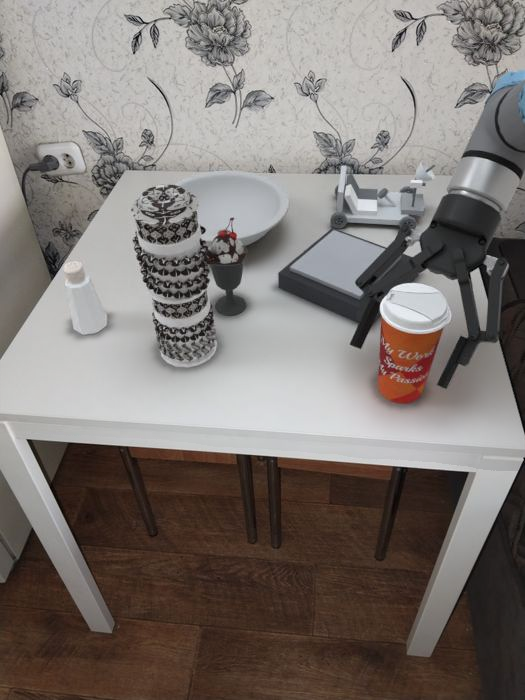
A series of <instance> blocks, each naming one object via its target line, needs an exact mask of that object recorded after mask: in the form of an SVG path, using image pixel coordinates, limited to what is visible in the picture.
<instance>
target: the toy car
mask: <svg viewBox="0 0 525 700" xmlns="http://www.w3.org/2000/svg"><path fill="white" fill-rule="evenodd" d="M347 166H348V165H341V167H340V173H339V180H338V184H337V185H336V186H335V188H334V195H335V196H336V198H337V199H336V212H334V213H333V214H331V216H330V225H331V226H332V228H334V229H337V230H339V229H344V228H345V227H346V225H347V224H348V223H352V224H353V223H354V224H355V223H356V224H371V225H388V226H389V225H392V226H399V227H398V228H399V229H400V228H401V226H402V225H405V224H406V225H408V226H409V227H410V228H411V229H414V230H416V228H417V219H415V217H413V216H421V217H424V214H425V204H424V203H425V202H424V194H423V193H417V189H422V188H423V187H426V185H427V183H426V182H430V181H434V180H435V179H436V176H435V174H434V172H433V170H432V169H434V168H435V167H436V164H432V165H431V166H429V165H428V163H426V162H425V161H423V160H422V161H420V163H419V164H418V166H417V168H416V171H415V174H414V175H415V176H414V179H410V183H409V186H408V185H407V186H406V185H405V186H403V187H402V188H400V190H399V191H397V192H396V191H389V189H387V188H386V187H383V188H382V189H381V190H379V189H378V188H362V187H361V188H360V186H359V184H358V183H357V181H356V179H355V176H354V175H353V173H350V174H347V169H348V167H347Z"/></svg>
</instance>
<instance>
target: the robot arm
mask: <svg viewBox="0 0 525 700" xmlns="http://www.w3.org/2000/svg"><path fill="white" fill-rule="evenodd" d="M524 174H525V69H518V70H517V71H508V72H506V73H504V74H503V75H501V76H500V78H498V80H497V82H496V84H495V86H494V87H493V89H492V92H491V93H490V94H489V95H488V96H487V98H486V100H485V102H484V106H483V109H482V112H481V113H480V116H479V118H478V120H477V122H476V125H475V127H474V129H473V131H472V133H471V136H470V137H469V140H468V142H467V144H466V146H465V149H464V151H463V152H462V155H461V157H460V159H459V161H458V163H457V166H456V167H455V169H454V172H453V174H452V176H451V178H450V180H449V182H448V184H447V186H446V189H445V190H446V192H447V194H445V195H442V197H441V199H440V202H439V203H438V206H437V208H436V210H435V212H434V214H433V216H432V218H431V221H430V224H429V225H428V227H427V228H426V229H425V230H424V231H423V232H421V231H419V230H416V229H411V228H410V227H409V226H408V225H406V224H405V225H402V226H401V228H400V227H399V230H398V231H397V234H396V236H395V238H394V240H393V241H391V243H390V244H389V245H388V246H386V249H385V250H384V251H383V252H382V253H381V254H380V255H379V256H378V258H377V259H376V260H375V261H374V262H373V263H372V264H371V265H370V266H369V267H368V268H367V269H366V270H365V271H364V272H363V273H362V274H361V275H360V276H359V277H358V278H357V279H356V281H355V284H356V286H358V287H359V288H360V289H361V290H362V291H363V293H364V298H363V300H362V302H361V304H360V307H359V309H358V311H357V313H356V319H358V320H360V323H358V324H357V327H356V330H355V331H354V333H353V336H352V338H351V340H350V342H349V346H351V347H354V348H357V349H360V350H362V348H363V346H364V344H365V341H366V339H367V337H368V335H369V333H370V331H371V328H372V326H373V325H374V323H375V322H374V320H375V318H376V316H377V314H378V311H379V309H380V304H381V303H380V302H378V298H380V297H381V296H383V295H385V294H386V293H388V292H389V291H390V290H391V289H392V288H394V287H395V286H398V285H400V284H402V283H403V282H405V281H407V280H408V279H410V278H411V277H413V276H414V275H416V274H418V273H419V274H420V273H423V272H424V271H426V270H428V271H429V273H432V274H436V275H442V276H444V277H445V278H447V279H448V280H451V281H455V280H457V283H458V286H459V292H460V297H461V303H462V308H463V314H464V318H465V323H466V330H467V337H465V336H463V335H459V338H458V340H457V342H456V344H455V347H453V351H452V352H451V355H450V357H449V359H448V361H447V363H446V364H445V367H444V370H443V371H442V372H441V375H440V377H439V379H438V381H437V384H436V386H438V387H440V388H442V389H446V390H447V389H448V387H449V385H450V383H451V381H452V378H453V377H454V374H455V372H456V370H457V369H458V367H459V365H460V366H462V367H465V368H466V367H467V366H468V365H469V364H470V362H471V360H472V358H473V356H474V354H475V352H476V350H477V348H478V346H479V345H480V344H482V343H491V344H496V343H498V342H499V340H500V330H501V329H500V328H501V326H500V325H501V313H502V312H501V311H502V296H503V283H504V280H505V278H506V275H507V273H508V271H509V268H510V264H509V262H508V259H507V258H505V257H499V258H497V257H495V256H491V255H488V250H489V247H490V244H491V243H492V240H493V238H494V236H495V234H496V232H497V230H498V228H499V226H500V224H501V222H502V215H501V214H502V213H505V212H506V211H507V210H508V207H509V205H510V203H511V201H512V199H513V197H514V194H515V193H516V190H517V188H518V186H519V184H520V181H522V178H523V175H524ZM418 242H419V246H420V252H418V253H417V254H415V255H414V256H411V257H412V258H411V259H410V260H409V261H408V262H407V263H405V264H404V265H402V266H401V267H399V268H398V269H396V270H394V271H393V272H391V273H390V274H388V275H387V276H385V277H384V278H382V279H381V280H379V281H378V282H376V281H377V280H378V279H379V277H380V276H381V275H382V274H383V273H384V272H385V271H386V270H387V269H388V268H389V267H390V266H391V265H392V264H393V263H394V262H395V261H396V260H397V259H398V258H399V257H400V256H401V255H402V254H405V252H406V250H408V248H410V247H413V246H414V245H415V244H416V243H418ZM484 265H485V266H486V273H487V274H488V276H489V281H488V282H489V283H488V294H487V296H488V298H487V311H486V312H487V313H486V314H487V315H486V327H485V330H481V324H480V320H479V315H478V314H479V313H478V310H477V309H478V308H477V303H476V297H475V294H474V293H475V292H474V288H473V287H474V286H473V281H472V276H471V273H472V272H474V271H476V270H477V269H479V268H481V267H483V266H484ZM419 274H418V275H419ZM375 282H376V283H375ZM373 322H374V323H373Z"/></svg>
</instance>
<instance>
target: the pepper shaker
mask: <svg viewBox="0 0 525 700" xmlns="http://www.w3.org/2000/svg"><path fill="white" fill-rule="evenodd" d="M62 271H63V272H64V275H65V282H64V288H65V295H66V298H67V303H68V309H69V313H70V318H71V324H72V328H73V330H74V331H75V332H77V333H79V334H81V335H82V336H86V335H92V334H93V335H94V334H95V335H96V334H97V333H99V332H100V331H101V330H103V329H104V328H106V327H107V325H108V315H107V314H106V313H107V312H106V310H105V308H104V307H103V303H102V301H101V299H100V297H99V294H98V293H97V290H96V287H95V285H94V283H93V280H92V279H91V277H90V275H88V274H86V272H85V269H84V264H83V263H82V262H80V261H78V260H73V261H69V262H67V263H65V264H64V265H63V267H62Z"/></svg>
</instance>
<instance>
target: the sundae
mask: <svg viewBox="0 0 525 700" xmlns="http://www.w3.org/2000/svg"><path fill="white" fill-rule="evenodd" d="M231 220H232V221H233V220H234V218H230V221H231ZM229 225H230V222H229ZM229 225H228V227H229ZM228 227H227V228H228ZM227 228H226V229H225V230H221V231H220V232H219V233H218V236H216V237H215V238H214V239H213V241H212V243H211V244H210V246H208V249H207V251H206V252H207V254H208V255H207V256H208V257H209V260H208V261H207V262H206V263H207V265H209V266H210V270H211V273H212V276H213V280H214V282H215V285H216V286H217V287H218V288H219V289H220V290H222V291H225V295H223V296H222V297H220V298H218V299H217V301H216V302H215V305H214V308H215V310H216V312H218V313H219V314H221V315H224V316H235V315H239V314H241V313H242V312H243V311H244V310H245V309H246V308H247V302H246V300H245V298H243V297H242V296H240V295H236V294H234V290H235V289H237V288H238V287H239V286H240V285H241V282H242V277H243V270H244V269H243V268H244V262H245V260H246V258H247V256H248V254H249V249H248V247H247V246H244V245H243V244H242V243H241V241H240V240H239V239H237V238H236V237H237V234H236V233H235V232H233V228H232V222H231V228H232V232H230V231H229V233H228V231H227Z"/></svg>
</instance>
